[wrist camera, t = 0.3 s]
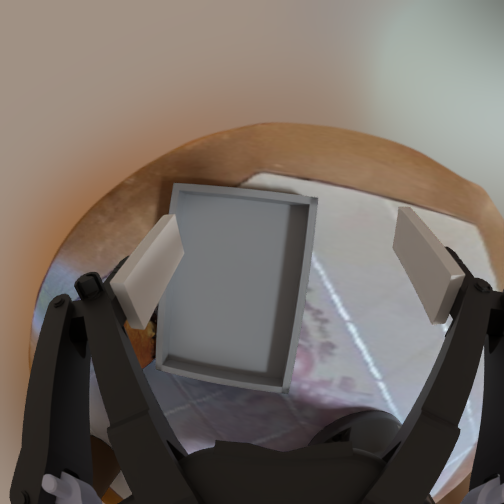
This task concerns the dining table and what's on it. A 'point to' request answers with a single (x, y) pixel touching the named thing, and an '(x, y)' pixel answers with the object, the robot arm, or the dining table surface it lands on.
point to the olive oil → (103, 465)
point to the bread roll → (144, 341)
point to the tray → (236, 286)
